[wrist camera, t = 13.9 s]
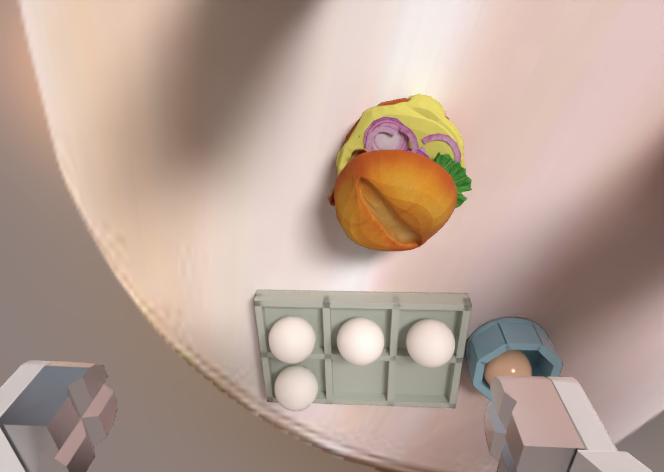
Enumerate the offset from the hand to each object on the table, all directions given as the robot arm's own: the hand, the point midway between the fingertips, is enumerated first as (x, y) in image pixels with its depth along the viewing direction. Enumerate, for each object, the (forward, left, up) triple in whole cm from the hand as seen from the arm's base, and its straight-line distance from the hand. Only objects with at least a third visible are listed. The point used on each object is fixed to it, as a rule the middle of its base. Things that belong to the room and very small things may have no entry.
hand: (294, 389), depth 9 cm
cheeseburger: (-4, +5, -29) cm, 30 cm away
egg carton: (-1, +26, -29) cm, 39 cm away
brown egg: (-17, +25, -28) cm, 42 cm away
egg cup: (-17, +25, -29) cm, 42 cm away
